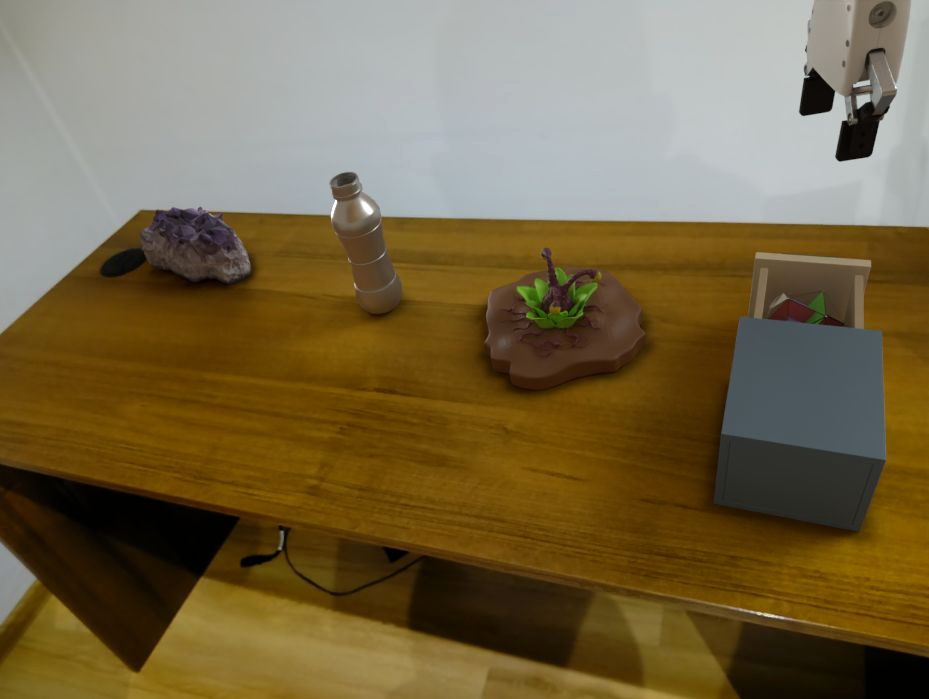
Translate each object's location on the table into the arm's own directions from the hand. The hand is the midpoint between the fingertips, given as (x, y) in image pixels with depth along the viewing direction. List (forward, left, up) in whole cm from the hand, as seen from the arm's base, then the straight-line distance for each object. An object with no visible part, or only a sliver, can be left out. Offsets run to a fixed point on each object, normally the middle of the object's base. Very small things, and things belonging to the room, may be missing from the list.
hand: (833, 134), depth 72 cm
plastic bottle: (+49, -22, -22) cm, 59 cm away
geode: (+75, -46, -22) cm, 91 cm away
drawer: (+5, +7, -21) cm, 23 cm away
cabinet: (+13, +20, -22) cm, 32 cm away
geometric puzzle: (+6, +8, -20) cm, 22 cm away
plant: (+28, -7, -22) cm, 37 cm away
